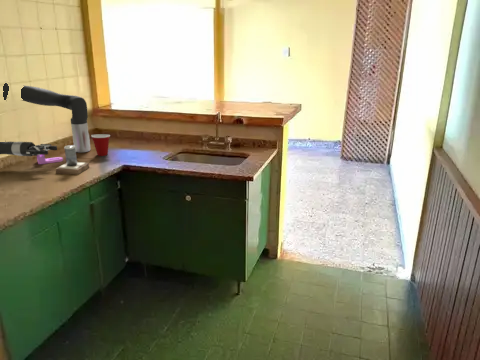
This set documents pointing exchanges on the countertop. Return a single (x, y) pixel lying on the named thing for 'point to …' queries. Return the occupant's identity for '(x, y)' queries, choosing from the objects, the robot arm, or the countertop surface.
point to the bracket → (48, 159)
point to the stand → (72, 168)
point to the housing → (70, 155)
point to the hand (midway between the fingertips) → (52, 150)
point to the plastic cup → (101, 143)
